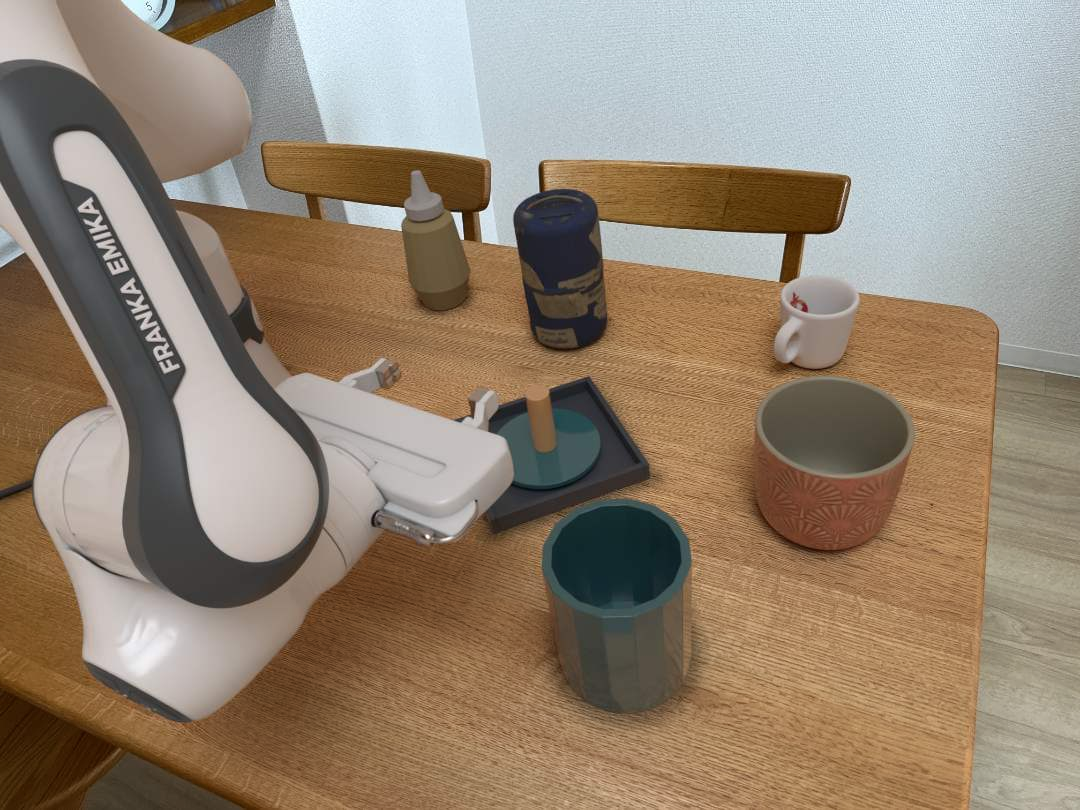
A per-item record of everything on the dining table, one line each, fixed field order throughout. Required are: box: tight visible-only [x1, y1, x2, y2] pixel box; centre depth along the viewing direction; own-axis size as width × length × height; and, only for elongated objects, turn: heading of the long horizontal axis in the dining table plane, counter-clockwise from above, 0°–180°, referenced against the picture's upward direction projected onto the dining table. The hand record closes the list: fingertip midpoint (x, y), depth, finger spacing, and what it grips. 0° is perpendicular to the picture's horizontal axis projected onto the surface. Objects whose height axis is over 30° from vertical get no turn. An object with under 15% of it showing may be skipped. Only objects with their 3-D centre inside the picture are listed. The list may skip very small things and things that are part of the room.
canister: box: [512, 188, 608, 350], centre depth 93 cm, size 10×10×18 cm
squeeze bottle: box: [400, 169, 471, 311], centre depth 102 cm, size 8×8×18 cm
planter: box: [753, 375, 916, 551], centre depth 70 cm, size 12×12×11 cm
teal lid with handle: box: [496, 383, 601, 489], centre depth 80 cm, size 11×11×8 cm
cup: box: [773, 274, 861, 370], centre depth 87 cm, size 11×8×8 cm
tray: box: [453, 375, 651, 535], centre depth 82 cm, size 16×15×2 cm
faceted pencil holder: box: [541, 497, 693, 714], centre depth 61 cm, size 10×10×13 cm
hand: (440, 380), depth 63 cm, fingers open, 8 cm apart
